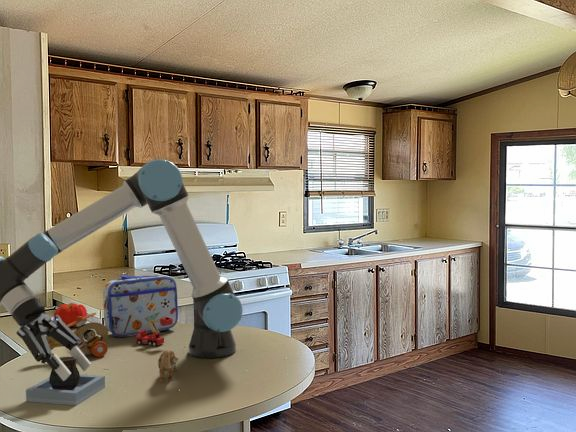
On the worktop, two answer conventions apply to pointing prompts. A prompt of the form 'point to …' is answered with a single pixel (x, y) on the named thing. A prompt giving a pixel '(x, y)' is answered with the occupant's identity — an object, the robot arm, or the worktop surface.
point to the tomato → (70, 312)
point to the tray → (66, 391)
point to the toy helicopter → (87, 337)
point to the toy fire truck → (154, 337)
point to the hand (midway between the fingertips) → (77, 372)
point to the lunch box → (139, 303)
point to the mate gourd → (71, 380)
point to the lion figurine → (167, 364)
